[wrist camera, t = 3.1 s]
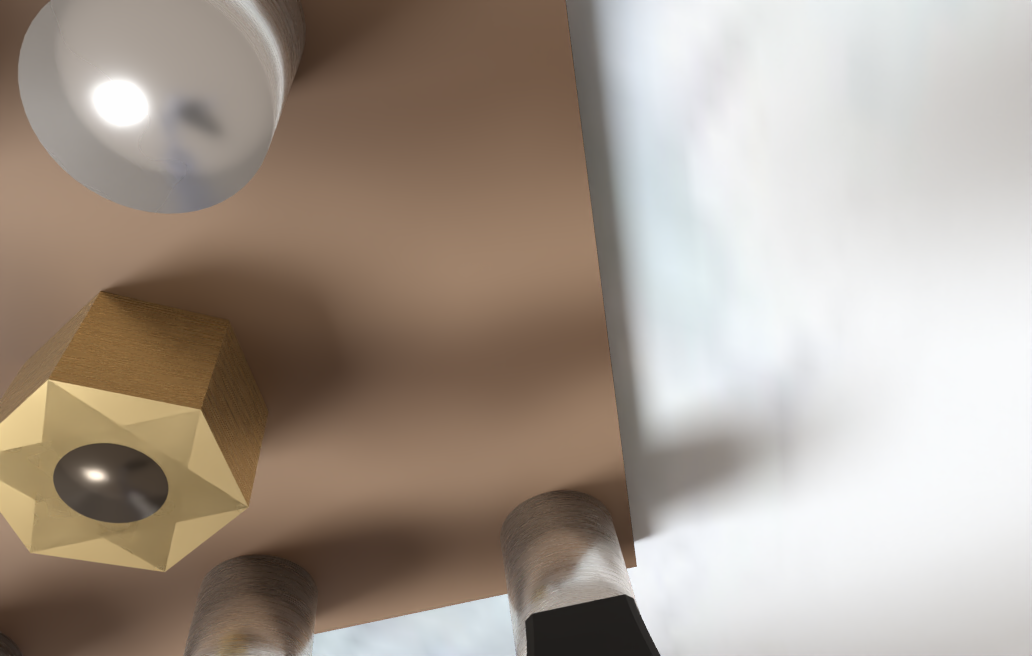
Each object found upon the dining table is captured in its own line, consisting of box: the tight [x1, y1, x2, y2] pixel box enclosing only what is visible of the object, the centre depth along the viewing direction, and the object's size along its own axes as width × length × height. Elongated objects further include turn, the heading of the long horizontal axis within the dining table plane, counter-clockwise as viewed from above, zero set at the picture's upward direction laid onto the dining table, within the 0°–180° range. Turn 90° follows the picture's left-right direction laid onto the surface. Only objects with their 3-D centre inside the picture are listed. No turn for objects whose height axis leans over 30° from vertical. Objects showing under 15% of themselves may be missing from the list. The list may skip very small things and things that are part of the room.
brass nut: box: [0, 291, 268, 572], centre depth 17 cm, size 5×4×3 cm
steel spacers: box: [0, 0, 639, 656], centre depth 16 cm, size 17×19×4 cm
